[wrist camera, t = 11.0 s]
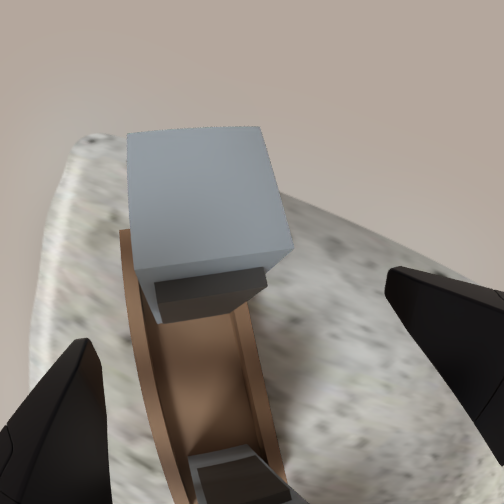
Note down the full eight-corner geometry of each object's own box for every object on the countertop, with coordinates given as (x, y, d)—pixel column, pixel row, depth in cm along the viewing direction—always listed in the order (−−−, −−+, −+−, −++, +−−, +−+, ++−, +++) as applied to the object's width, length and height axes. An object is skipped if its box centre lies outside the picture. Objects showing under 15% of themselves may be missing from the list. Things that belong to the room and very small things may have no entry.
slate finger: (220, 323, 20) (300, 270, 8) (158, 333, 18) (137, 295, 7) (206, 256, 21) (259, 126, 9) (148, 263, 20) (126, 133, 8)
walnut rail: (277, 479, 18) (358, 549, 8) (177, 502, 16) (192, 599, 5) (223, 231, 23) (268, 137, 13) (123, 243, 21) (92, 148, 11)
